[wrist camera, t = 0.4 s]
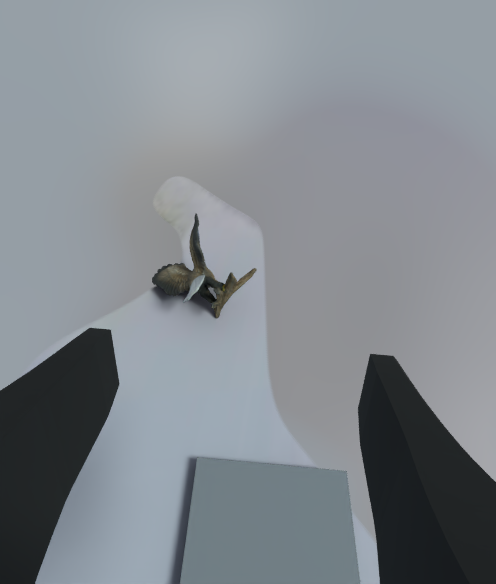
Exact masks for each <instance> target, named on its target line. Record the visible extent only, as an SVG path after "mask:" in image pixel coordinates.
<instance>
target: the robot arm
mask: <svg viewBox="0 0 496 584" xmlns="http://www.w3.org/2000/svg"><path fill="white" fill-rule="evenodd" d="M118 386H119V379H118V372H117V366H116V360H115V354H114V347H113V341H112V335H111V330H107V329H97V328H89V329H87V330H86V331H85V332H83V333H82V334H80V335H79V336H78V337H76V338H75V339H73V340H72V341H71V342H69V343H68V344H67V345H65V346H64V347H63V348H61V349H60V350H59V351H57V352H56V353H55V354H53V355H52V356H50V357H49V358H48V359H46V360H45V361H43V362H42V363H41V364H39V365H38V366H37V367H35V368H34V369H32V370H31V371H30V372H28V373H27V374H25V375H23V376H22V377H20V378H19V379H17V380H16V381H14V382H13V383H11V384H10V385H8V386H7V387H5V388H4V389H2V390H1V391H0V584H35V582H36V579H37V576H38V573H39V570H40V567H41V565H42V562H43V559H44V556H45V554H46V551H47V548H48V545H49V543H50V540H51V537H52V535H53V532H54V529H55V527H56V524H57V522H58V519H59V517H60V514H61V512H62V509H63V506H64V504H65V501H66V499H67V497H68V495H69V493H70V491H71V488H72V486H73V484H74V482H75V480H76V478H77V476H78V474H79V473H80V471H81V469H82V467H83V465H84V463H85V461H86V459H87V457H88V455H89V453H90V451H91V449H92V447H93V445H94V443H95V441H96V439H97V437H98V435H99V433H100V431H101V429H102V427H103V425H104V423H105V421H106V419H107V417H108V415H109V412H110V410H111V407H112V404H113V401H114V398H115V395H116V392H117V389H118ZM358 416H359V434H360V446H361V452H362V457H363V463H364V469H365V474H366V480H367V486H368V491H369V497H370V502H371V508H372V513H373V519H374V525H375V532H376V540H377V551H378V564H379V576H380V584H496V482H495V481H494V480H493V479H492V478H491V477H490V476H489V475H488V474H487V473H486V472H485V471H484V470H483V469H482V468H481V467H480V466H479V465H478V464H477V463H476V462H475V461H474V460H473V459H472V458H471V457H470V456H469V455H468V454H467V452H466V451H465V450H464V449H463V448H462V447H461V446H460V444H459V443H458V442H457V441H456V440H455V439H454V437H453V436H452V435H451V434H450V433H449V432H448V430H447V429H446V428H445V427H444V425H443V424H442V423H441V422H440V420H439V419H438V418H437V417H436V415H435V414H434V412H433V411H432V410H431V409H430V407H429V406H428V405H427V404H426V402H425V401H424V399H423V398H422V397H421V395H420V394H419V392H418V391H417V389H416V388H415V387H414V385H413V384H412V382H411V381H410V380H409V378H408V377H407V375H406V373H405V372H404V370H403V369H402V367H401V366H400V364H399V363H398V361H397V360H396V359H395V357H394V356H387V355H376V354H370V357H369V362H368V366H367V371H366V375H365V380H364V384H363V389H362V393H361V398H360V403H359V407H358Z"/></svg>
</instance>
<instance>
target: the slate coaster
mask: <svg viewBox="0 0 496 584" xmlns="http://www.w3.org/2000/svg"><path fill="white" fill-rule="evenodd" d="M180 584H360V578H359V570H358V561H357V553H356V545H355V536H354V528H353V520H352V512H351V503H350V495H349V487H348V478H347V471H340V470H329V469H318V468H308V467H297V466H286V465H275V464H264V463H253V462H242V461H232V460H221V459H210V458H199V457H197V463H196V470H195V478H194V485H193V492H192V499H191V507H190V514H189V521H188V528H187V536H186V543H185V550H184V557H183V565H182V572H181V579H180Z"/></svg>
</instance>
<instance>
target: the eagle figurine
mask: <svg viewBox="0 0 496 584" xmlns="http://www.w3.org/2000/svg"><path fill="white" fill-rule="evenodd" d="M198 226H199V220H198V216H197V214H195V223H194V227H193V229H192V232H191V236H190V252H191V257H192V261H193V263H194V269H193V271H191V270H189V269H188V268H186V266H185V264H184V263H181V264H174V265H172V264H168V265H167V266H163V267H162V269H159V270H158V273H156V274H155V275H154V277H153V278H152V282H153V284H154V285H155V284H156V285H157V286H160V287H161V288H162V289H165V292H166V294H169V295H173V296H176V295H179V294H180V293H183V292H184V291H185V290H186V291H189V293H188V295H187V297H186V298H185V300H184V301H183V303H184V302H186V301H188V300H189V299H190V298H191V297H192V295H193V294H195V293H196V292H198V293H199V294H200V295H201V296H202V297H203V298H204V299H206V300H207V301H208V302H210V303H212V306H211V308H214V312H215V315H216V316H215V317H216V318H218V317H219V315H220V311H221V309H222V308H223V306H224V304H225V303H226V302H227V301H228V299H229V298H230V297H231V295H232V294H233V293H234V292H235V291H237V290H238V289H239V288H240V287H241V286H242V285H243V284H244V283H245V282H247V281H248V280H249V279H250V278H251V277H252V276H253V274H254V273H255V271H256V270H257V269H256V268H254V269H252V270H251V271H250V272H249V273H247V274H246V275H245V276H243V277H242V278H241V279H240V280H239V281H238V282H237V280H236V278H235V277H234V276H233V273H232V272H231V273H230V274H229V276H228V279H227V280H226V284H223V283H221V282H218V281H217V280H215V278H214V275H213V273H212V272H211V271H210V270H209V269H208V268H207V267H206V264H205V262H204V261H205V260H204V256H203V253H202V250H201V248H200V241H199V233H198ZM210 286H211V287H212V288H214V292H215V293H216V297H217V299H215V298H214V296H213V295H212V294H211V293H210V291H209V290H208V288H209V287H210Z"/></svg>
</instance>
